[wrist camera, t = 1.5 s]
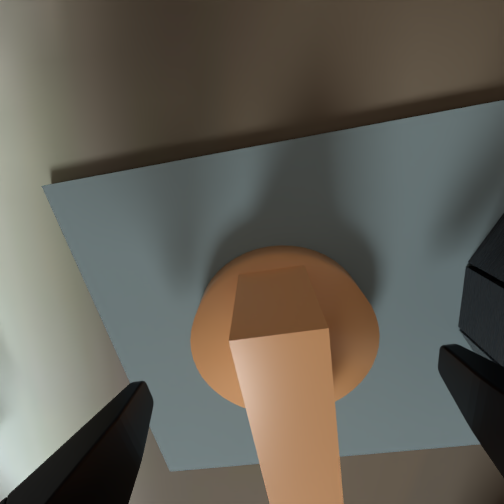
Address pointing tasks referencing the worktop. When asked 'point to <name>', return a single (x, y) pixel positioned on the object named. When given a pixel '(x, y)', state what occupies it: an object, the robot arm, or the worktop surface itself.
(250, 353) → the rotary knob
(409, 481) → the worktop surface
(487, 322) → the black ring
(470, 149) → the mat
